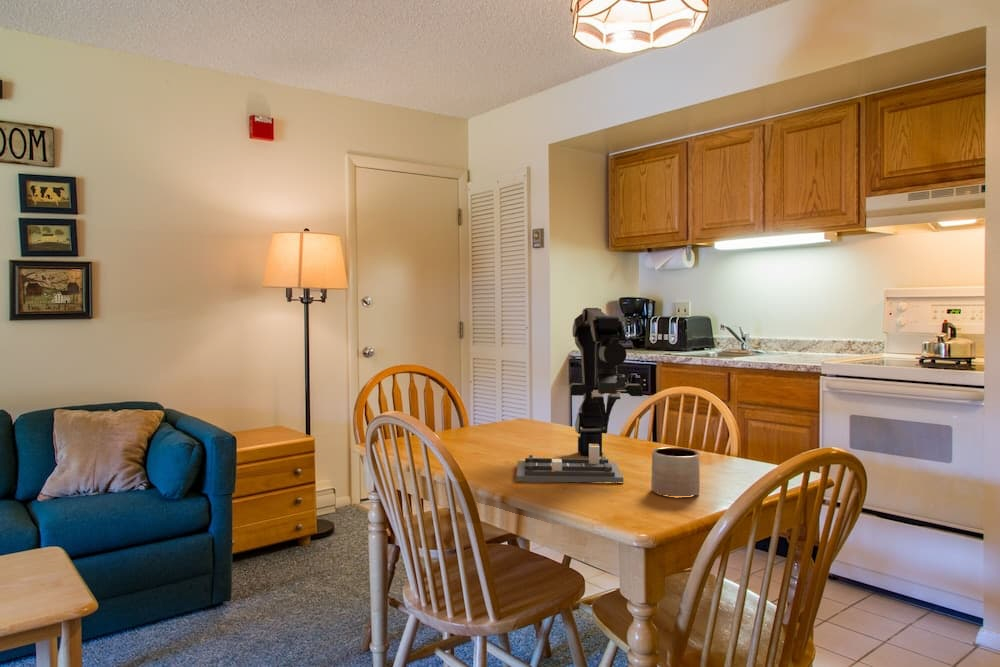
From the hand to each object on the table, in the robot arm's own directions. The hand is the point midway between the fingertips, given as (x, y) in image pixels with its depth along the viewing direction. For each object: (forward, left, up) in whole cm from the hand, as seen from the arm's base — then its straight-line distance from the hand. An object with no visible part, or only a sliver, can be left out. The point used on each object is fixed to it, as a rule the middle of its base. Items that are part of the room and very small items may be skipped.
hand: (605, 422), depth 179 cm
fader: (+3, +2, -11) cm, 11 cm away
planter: (-14, +21, -13) cm, 28 cm away
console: (+10, +6, -13) cm, 17 cm away
